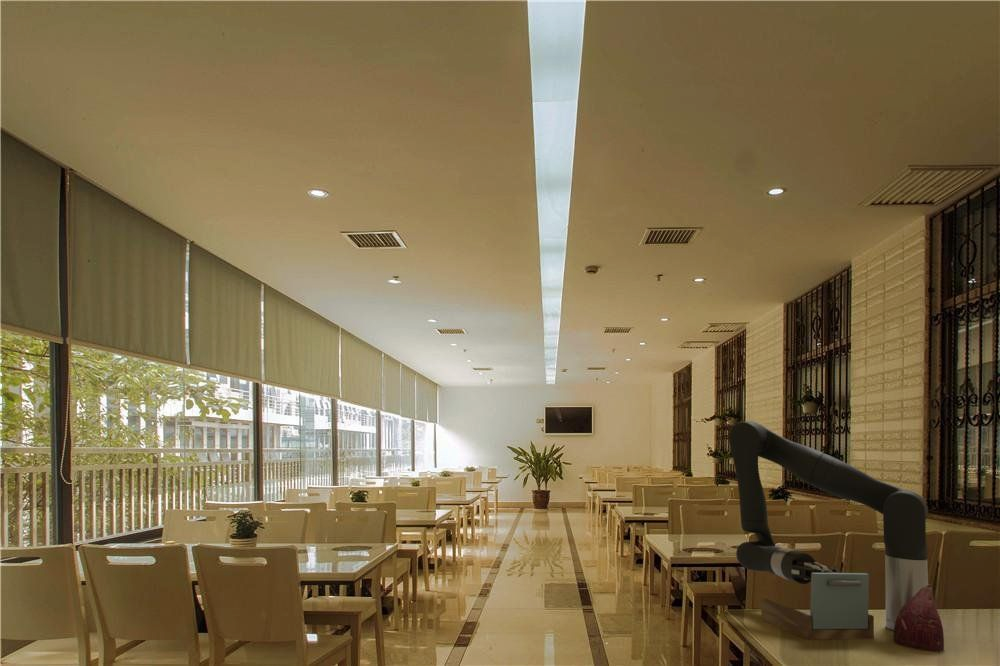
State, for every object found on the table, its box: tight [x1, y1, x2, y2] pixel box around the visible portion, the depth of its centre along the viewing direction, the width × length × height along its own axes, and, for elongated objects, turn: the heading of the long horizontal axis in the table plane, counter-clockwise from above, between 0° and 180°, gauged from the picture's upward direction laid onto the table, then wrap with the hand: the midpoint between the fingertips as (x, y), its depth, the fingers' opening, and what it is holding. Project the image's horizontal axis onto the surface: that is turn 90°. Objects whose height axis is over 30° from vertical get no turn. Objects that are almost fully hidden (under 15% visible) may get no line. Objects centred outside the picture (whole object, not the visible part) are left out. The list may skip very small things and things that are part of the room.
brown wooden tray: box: [760, 598, 875, 640], centre depth 186 cm, size 18×18×5 cm
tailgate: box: [809, 572, 870, 629], centre depth 178 cm, size 14×2×12 cm, turn 104°
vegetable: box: [892, 583, 945, 652], centre depth 177 cm, size 10×10×15 cm
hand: (838, 578), depth 180 cm, fingers closed
